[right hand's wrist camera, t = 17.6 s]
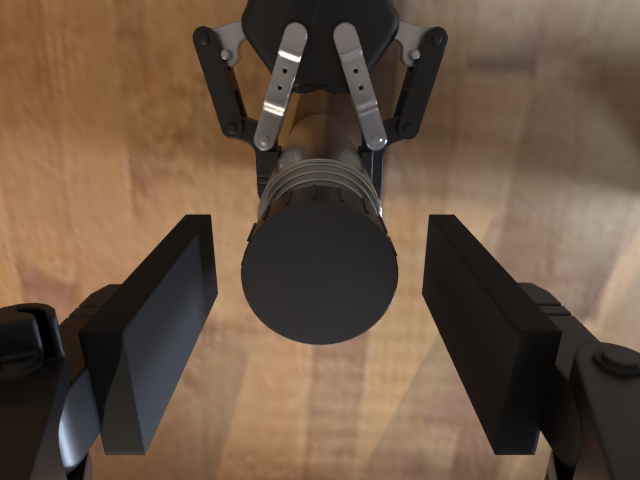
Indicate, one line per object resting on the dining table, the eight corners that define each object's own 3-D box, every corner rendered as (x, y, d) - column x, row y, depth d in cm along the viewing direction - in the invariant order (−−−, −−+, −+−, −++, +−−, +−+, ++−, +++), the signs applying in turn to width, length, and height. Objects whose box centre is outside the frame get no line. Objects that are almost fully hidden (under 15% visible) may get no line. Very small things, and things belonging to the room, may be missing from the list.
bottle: (290, 110, 33) (240, 180, 12) (356, 117, 33) (417, 200, 12) (285, 175, 34) (233, 333, 14) (347, 182, 34) (387, 348, 14)
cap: (286, 332, 15) (282, 367, 14) (224, 217, 14) (210, 239, 12) (409, 284, 15) (421, 315, 13) (357, 159, 13) (363, 173, 11)
